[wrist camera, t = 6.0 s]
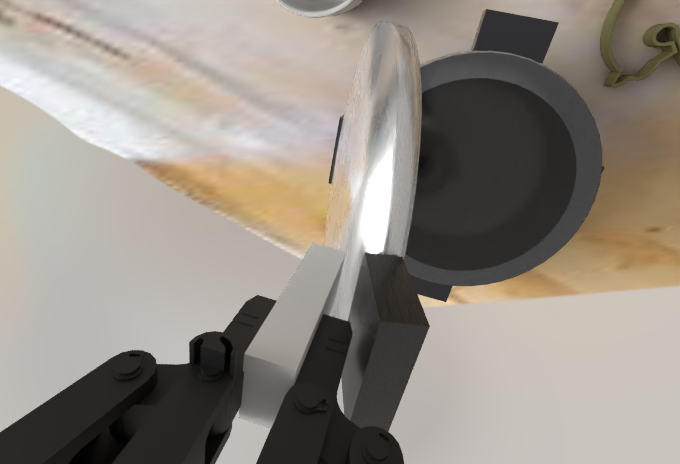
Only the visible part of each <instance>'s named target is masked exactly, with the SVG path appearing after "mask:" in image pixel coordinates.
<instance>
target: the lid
mask: <svg viewBox="0 0 680 464" xmlns="http://www.w3.org/2000/svg"><path fill="white" fill-rule="evenodd" d="M421 118H422V93H421V74H420V62H419V57H418V51H417V46H416V43H415V40H414V37H413V35H412V32H411V31H410V30H409V29H408V28H407V27H406V26H403V25H399V24H394V23H389V22H385V21H381V22H379V23H377V25H376V26H375V27H374V28H373V30H372V32H371V34H370V35H369V37H368V39H367V42H366V44H365V46H364V49H363V51H362V54H361V57H360V60H359V63H358V66H357V69H356V72H355V76H354V79H353V82H352V86H351V90H350V94H349V98H348V102H347V106H346V110H345V114H344V119H343V124H342V128H341V133H340V138H339V143H338V149H337V154H336V160H335V166H334V171H333V178H332V184H331V191H330V198H329V205H328V213H327V221H326V230H325V240H324V246H327V247H330V248H334V249H337V250H341V251H345V252H346V255H345V260H344V264H343V268H342V273H341V277H340V281H339V286H338V290H337V294H336V299H335V303H334V305H333V308H332V311H331V313H330V316H332V317H335V318H339V319H342V320H345V321H349V322H350V324H351V328H352V332H353V335H352V339H351V342H350V346H349V350H348V353H347V357H346V361H345V364H344V368H343V372H342V375H341V378H342V390H343V403H344V415H345V417H347V418H348V419H349V420H350V421H351V422H353V423H354V424H355V425H357V426H358V427H360V428H361V429H362V428H363V427H369V426H375V427H379V428H382V429H384V430H386V431H387V432H388V431H389V428H390V426H391V423H392V421H393V418H394V416H395V413H396V411H397V408H398V405H399V403H400V400H401V398H402V395H403V393H404V390H405V387H406V385H407V383H408V380H409V378H410V375H411V372H412V370H413V367H414V365H415V362H416V360H417V357H418V355H419V352H420V350H421V347H422V344H423V342H424V339H425V337H426V334H427V331H428V329H429V327H430V326H429V323H428V321H427V318H426V316H425V313H424V311H423V308H422V305H421V303H420V300H419V298H418V295H417V293H416V290H415V288H414V285H413V283H412V280H411V277H410V275H409V272H408V270H407V267H406V265H405V262H404V257H405V252H406V247H407V241H408V236H409V231H410V225H411V220H412V213H413V206H414V198H415V191H416V184H417V175H418V164H419V153H420V139H421Z"/></svg>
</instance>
